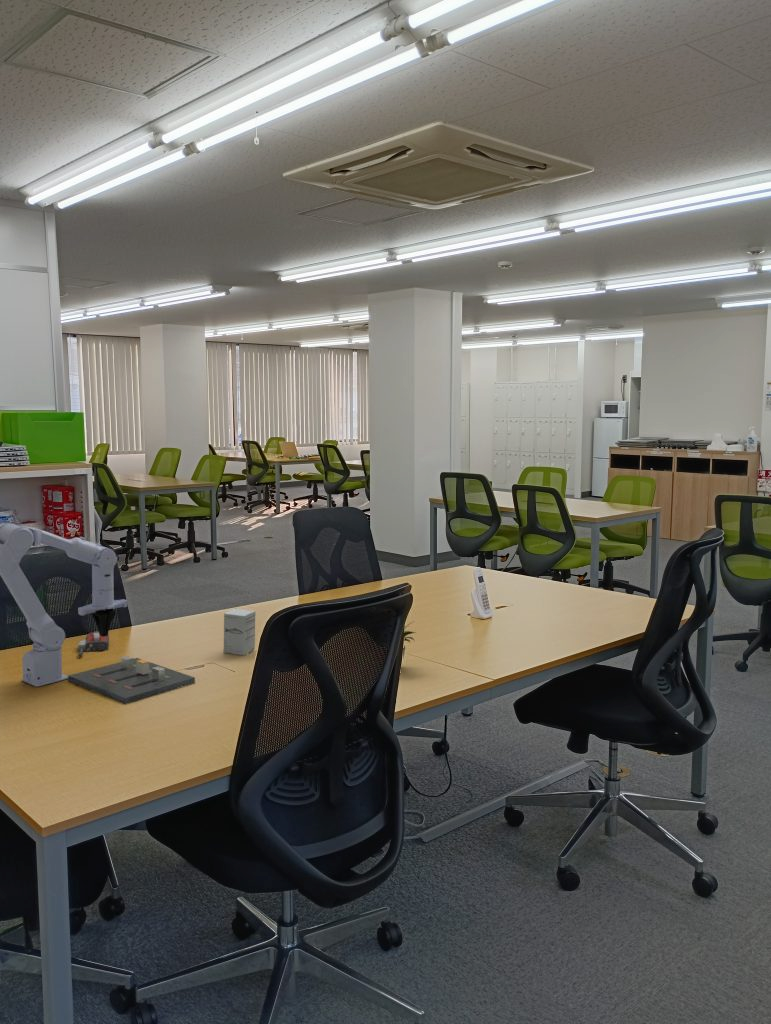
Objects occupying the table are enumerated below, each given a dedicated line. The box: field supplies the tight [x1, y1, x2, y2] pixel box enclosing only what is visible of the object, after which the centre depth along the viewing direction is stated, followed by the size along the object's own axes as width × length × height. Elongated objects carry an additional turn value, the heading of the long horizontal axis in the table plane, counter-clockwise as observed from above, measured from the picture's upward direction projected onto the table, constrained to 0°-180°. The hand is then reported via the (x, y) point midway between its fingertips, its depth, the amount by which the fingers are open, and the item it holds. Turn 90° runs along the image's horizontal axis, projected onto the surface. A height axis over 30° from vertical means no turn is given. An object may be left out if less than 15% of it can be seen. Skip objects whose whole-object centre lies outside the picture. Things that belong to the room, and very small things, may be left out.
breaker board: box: [67, 655, 196, 705], centre depth 225 cm, size 22×26×4 cm
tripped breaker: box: [136, 658, 150, 675], centre depth 228 cm, size 2×3×3 cm, turn 52°
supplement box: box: [223, 608, 257, 656], centre depth 256 cm, size 7×7×13 cm
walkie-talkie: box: [77, 631, 110, 657], centre depth 255 cm, size 9×4×20 cm
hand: (103, 635), depth 236 cm, fingers closed
